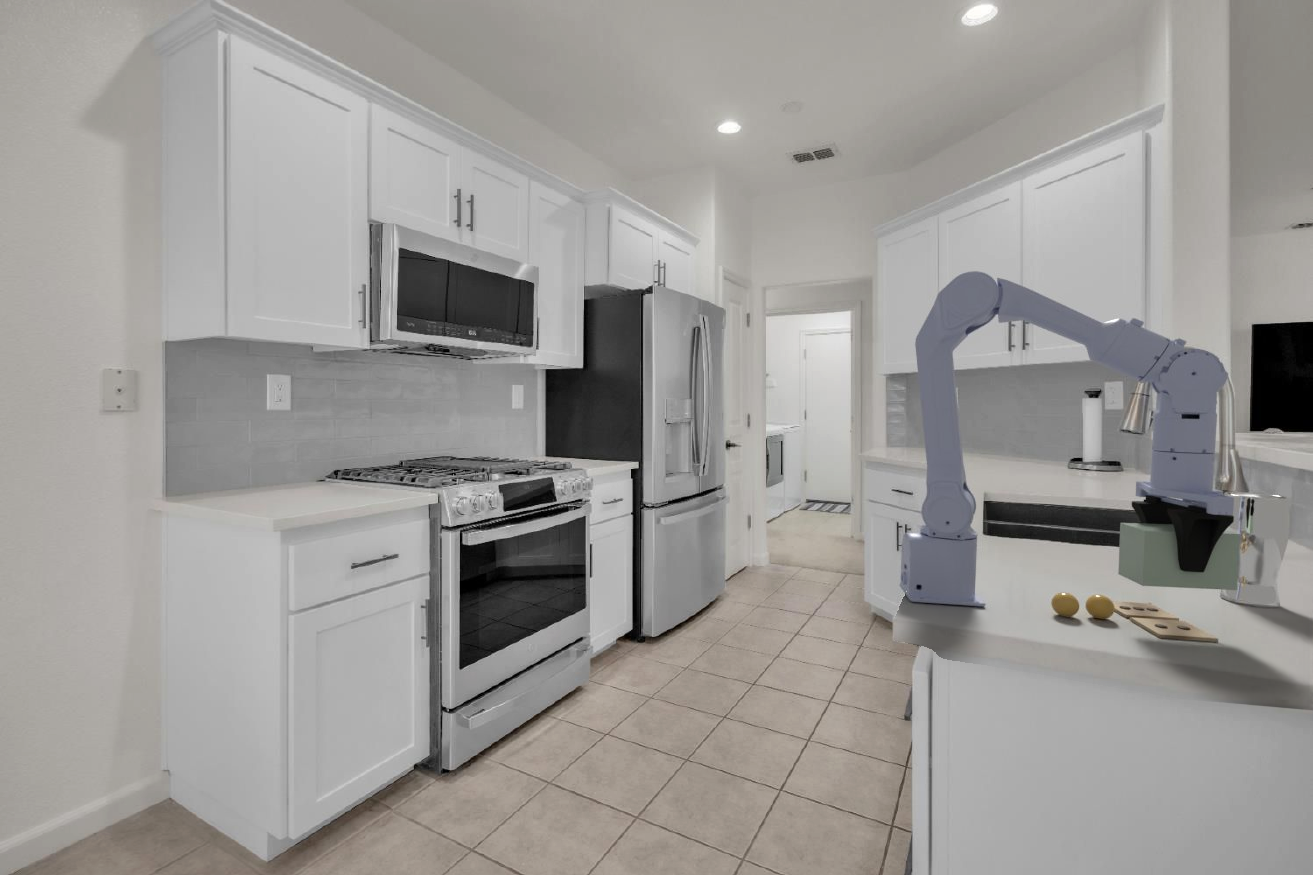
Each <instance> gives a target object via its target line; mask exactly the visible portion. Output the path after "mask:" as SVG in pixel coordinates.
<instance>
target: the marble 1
mask: <svg viewBox="0 0 1313 875" xmlns="http://www.w3.org/2000/svg"><path fill="white" fill-rule="evenodd" d="M1051 607H1052V610H1053V611H1054V612H1055V613H1057V614H1058V615H1059V616H1061V617H1066V618H1068V617H1072V616H1075V615H1077V613H1078V612H1079V610H1080V602H1079V600H1078V599H1077V597H1076V596H1075V595H1073V594H1071V593H1069V592H1066V591H1064V592H1059V593H1056V594H1055V595H1054V596H1053V597H1052V598H1051Z"/></svg>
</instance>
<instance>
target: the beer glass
mask: <svg viewBox="0 0 1313 875" xmlns="http://www.w3.org/2000/svg"><path fill="white" fill-rule="evenodd" d="M1223 495H1225V496H1228V497H1233V498H1234V509H1233V515H1232V516H1234V522H1233V523H1232V524H1231V525H1230V526H1229V527H1228V528H1227V529H1226V530H1227V531H1230V532H1234V533H1238V534H1240V535H1239V557H1238V578H1237V590H1222V589H1220V593H1219V596H1220V598H1221V599H1223V600H1225V601H1228V602H1231V603H1234V604H1239V605H1242V606H1243V605H1245V606H1248V607H1255V608H1265V609H1267V608H1268V609H1274V608H1279V607H1280V605H1281V601H1280V596H1279V591H1278V590H1279V589H1278V577H1279V571H1280V569H1281V565H1282V562H1283V559H1284V556H1285V553H1286V550H1287V546H1288V542H1289V538H1290V537H1289V536H1290V530H1291V529H1290V528H1291V525H1290V524H1291V514H1290V513H1291V512H1290V509H1291V508H1290V497H1288V496H1284V495H1280V494H1279V495H1277V494H1269V493H1261V492H1260V493H1259V492H1258V493H1257V492H1249V491H1248V492H1245V491H1244V492H1243V491H1226V492H1223Z"/></svg>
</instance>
